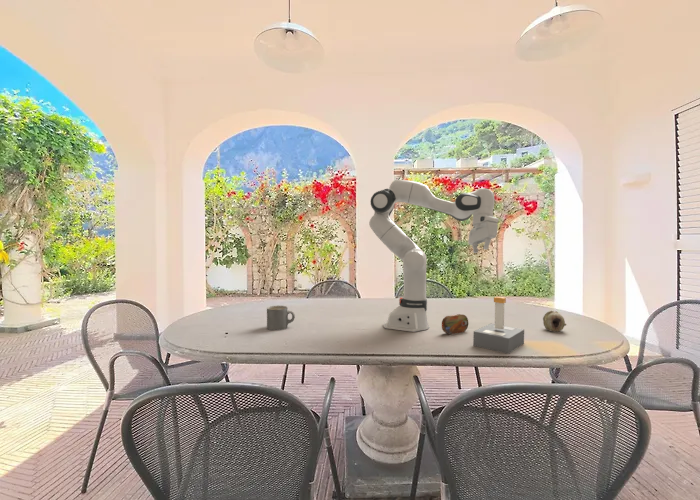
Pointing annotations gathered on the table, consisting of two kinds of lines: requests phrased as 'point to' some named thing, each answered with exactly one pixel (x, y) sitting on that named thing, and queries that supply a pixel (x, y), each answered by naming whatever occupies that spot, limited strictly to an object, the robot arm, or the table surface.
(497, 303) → the breaker lever
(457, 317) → the tin
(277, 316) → the coffee mug
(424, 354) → the table surface
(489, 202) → the robot arm
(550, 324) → the beige hollow lumpy pot
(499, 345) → the switch box
